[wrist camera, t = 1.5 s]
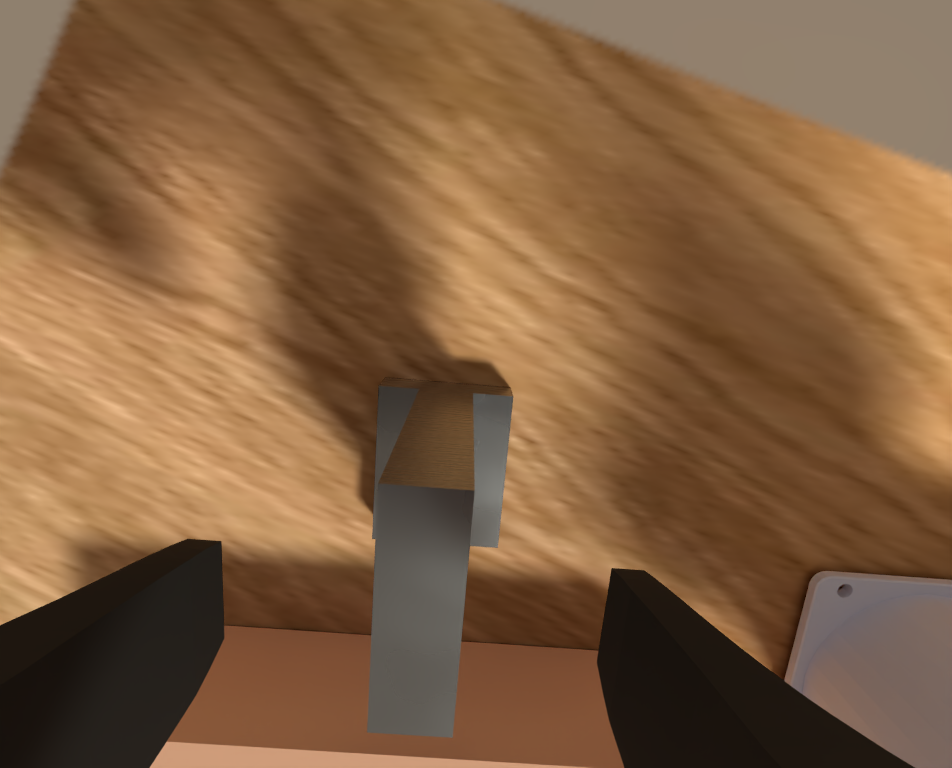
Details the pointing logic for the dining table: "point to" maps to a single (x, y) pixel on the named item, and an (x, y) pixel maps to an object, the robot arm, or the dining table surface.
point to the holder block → (346, 709)
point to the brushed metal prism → (429, 541)
